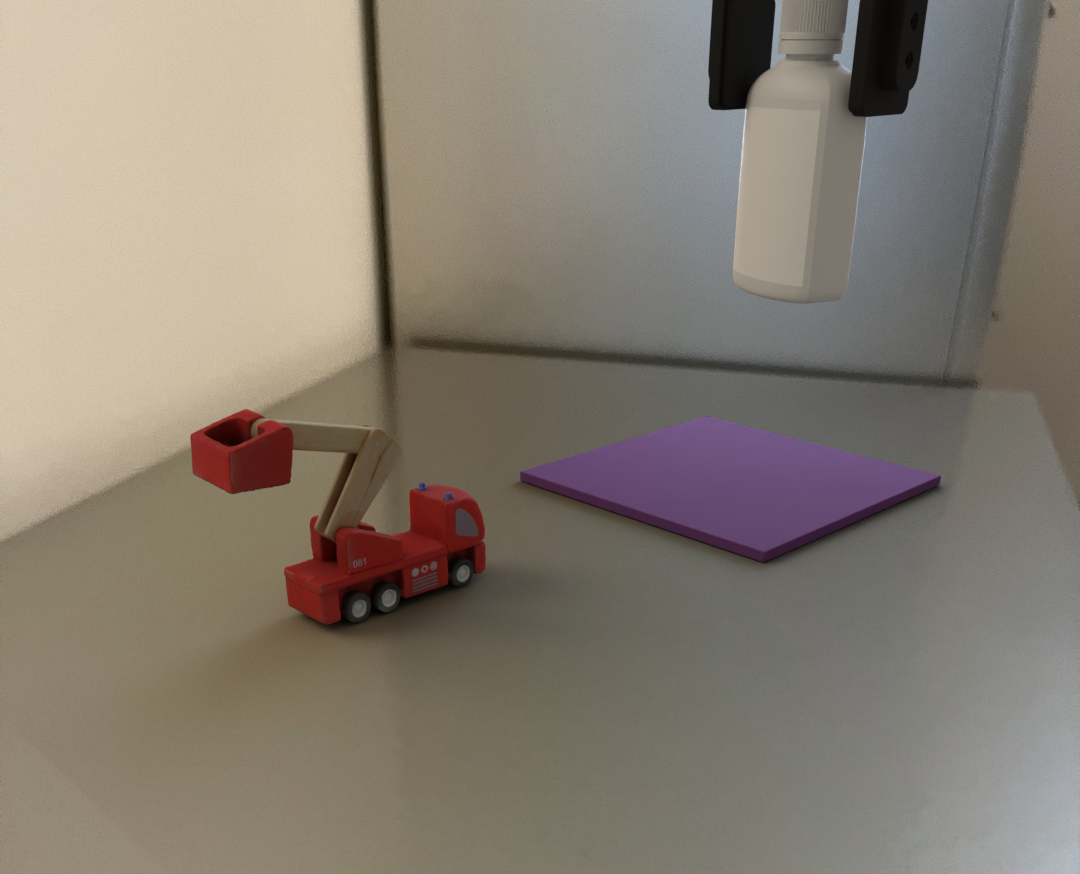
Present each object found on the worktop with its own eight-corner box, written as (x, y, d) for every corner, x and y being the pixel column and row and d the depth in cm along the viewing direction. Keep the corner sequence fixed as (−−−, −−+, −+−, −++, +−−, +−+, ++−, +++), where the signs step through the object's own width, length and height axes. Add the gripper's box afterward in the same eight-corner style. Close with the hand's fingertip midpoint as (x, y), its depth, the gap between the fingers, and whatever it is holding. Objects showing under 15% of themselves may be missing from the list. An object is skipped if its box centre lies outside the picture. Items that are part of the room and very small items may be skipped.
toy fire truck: (495, 577, 59) (493, 380, 54) (253, 660, 51) (225, 438, 46) (452, 558, 61) (447, 367, 56) (214, 635, 53) (183, 420, 48)
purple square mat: (705, 423, 83) (706, 415, 83) (940, 484, 72) (941, 475, 72) (519, 480, 72) (519, 471, 72) (763, 563, 61) (764, 552, 61)
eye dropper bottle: (739, 305, 47) (766, -54, 41) (729, 280, 52) (753, -45, 46) (850, 306, 47) (894, -55, 41) (830, 281, 52) (868, -46, 46)
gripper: (1198, -585, 34) (1062, 116, 43) (718, -441, 45) (689, 101, 54) (1092, -681, 30) (964, 127, 39) (583, -495, 40) (576, 108, 49)
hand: (805, 106), depth 46 cm, fingers closed on eye dropper bottle, 5 cm apart
